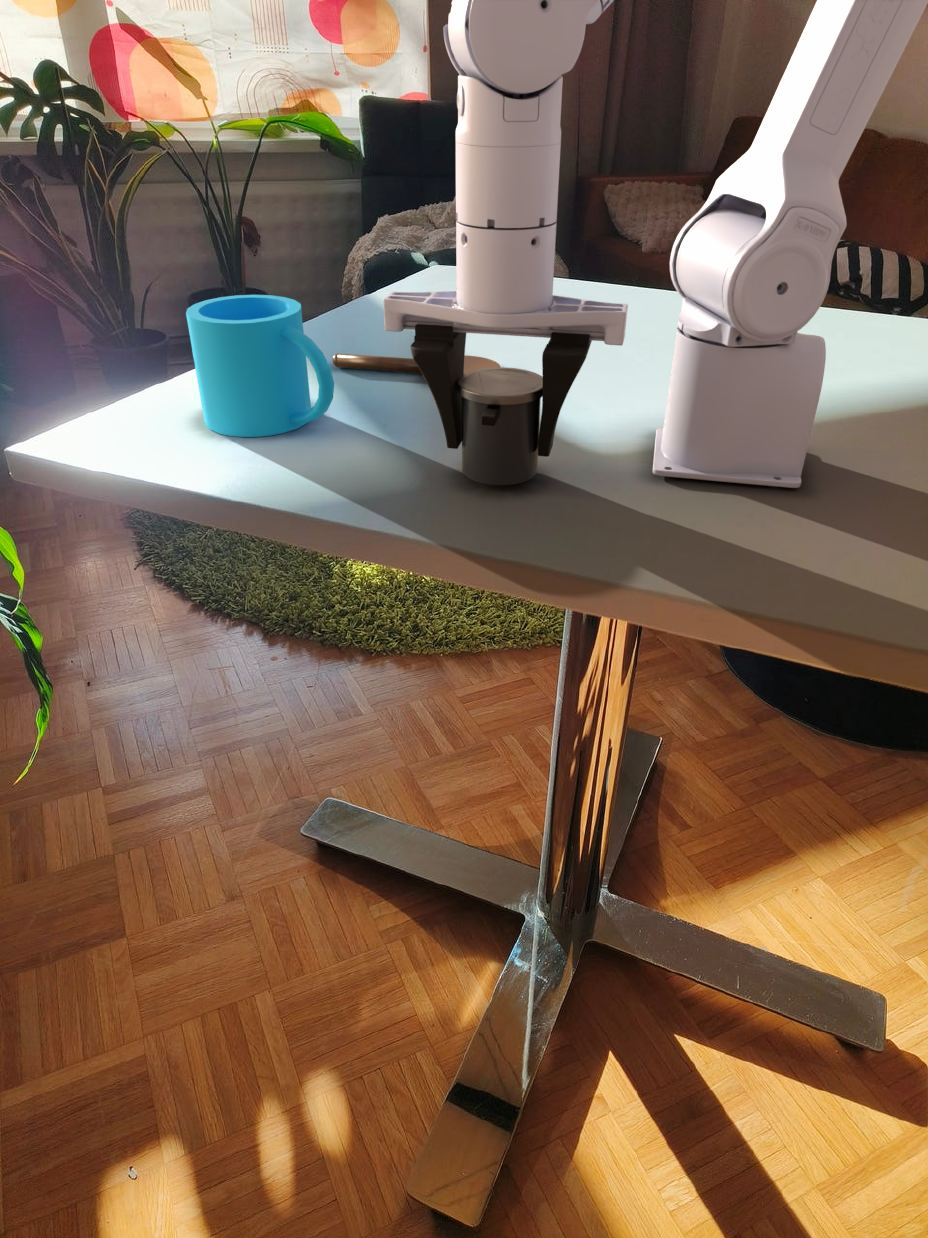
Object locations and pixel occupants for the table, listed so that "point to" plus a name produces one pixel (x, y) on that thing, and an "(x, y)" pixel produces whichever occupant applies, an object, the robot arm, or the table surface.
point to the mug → (255, 365)
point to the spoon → (401, 363)
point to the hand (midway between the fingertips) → (500, 446)
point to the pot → (500, 424)
